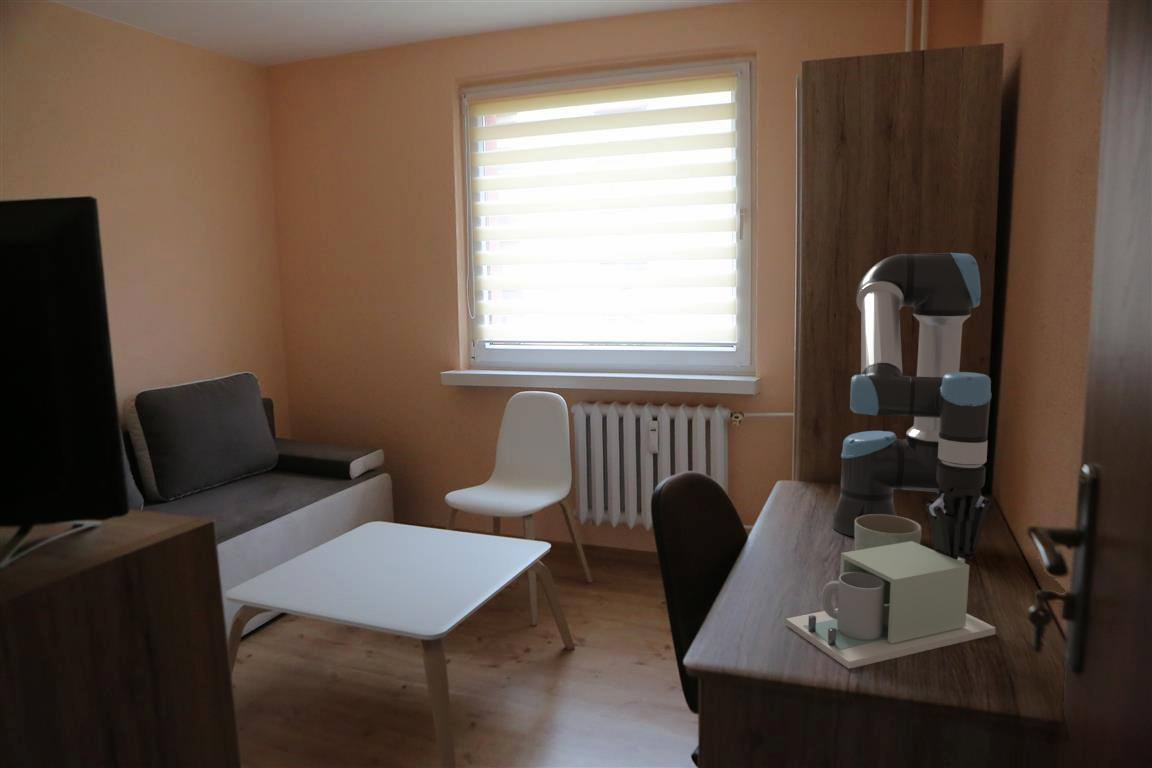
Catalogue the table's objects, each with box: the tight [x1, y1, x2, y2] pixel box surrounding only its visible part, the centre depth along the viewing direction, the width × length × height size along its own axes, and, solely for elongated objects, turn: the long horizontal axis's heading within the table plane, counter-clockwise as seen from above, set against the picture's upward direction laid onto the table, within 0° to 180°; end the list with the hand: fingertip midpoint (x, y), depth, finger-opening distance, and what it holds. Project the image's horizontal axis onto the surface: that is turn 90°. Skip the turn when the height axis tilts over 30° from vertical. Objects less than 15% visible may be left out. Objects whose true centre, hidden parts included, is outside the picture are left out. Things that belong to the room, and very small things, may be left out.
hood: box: [839, 541, 970, 643], centre depth 130 cm, size 16×13×11 cm
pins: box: [808, 615, 836, 646], centre depth 127 cm, size 14×6×2 cm, turn 111°
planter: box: [854, 514, 922, 551], centre depth 153 cm, size 12×12×11 cm
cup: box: [821, 572, 885, 641], centre depth 127 cm, size 7×10×9 cm
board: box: [785, 604, 996, 669], centre depth 130 cm, size 30×16×1 cm, turn 111°
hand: (953, 592), depth 134 cm, fingers closed
